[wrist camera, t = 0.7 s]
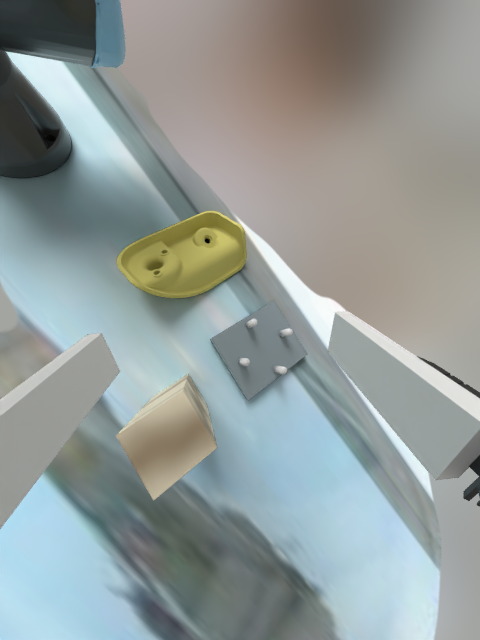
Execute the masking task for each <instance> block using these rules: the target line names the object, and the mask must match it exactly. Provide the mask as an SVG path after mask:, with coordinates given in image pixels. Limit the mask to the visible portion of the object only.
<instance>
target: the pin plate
mask: <svg viewBox="0 0 480 640" xmlns="http://www.w3.org/2000/svg"><path fill="white" fill-rule="evenodd" d="M210 340H211V341H212V343H213V345H214V346H215V348H216V350H217V351H218V353H219V355H220V356H221V358H222V360H223V361H224V363H225V365H226V366H227V368H228V369H229V371H230V373H231V374H232V376H233V378H234V379H235V381H236V383H237V384H238V386H239V388H240V389H241V391H242V393H243V394H244V396H245V397H246V399H247V400H249V399H251V398H252V397H253V396H255V395H256V394H257V393H258V392H260V391H261V390H262V389H264V388H265V387H266V386H267V385H269V384H270V383H271V382H273V381H274V380H275V379H276V378H278V377H279V376H280V375H281V374H286V373H287V370H288V369H289V368H290V367H292V366H293V365H294V364H296V363H297V362H298V361H299V360H301V359H302V358H303V357H305V356H306V355H307V352H306V351H305V349H304V347H303V346H302V344H301V343H300V341H299V339H298V338H297V336H296V335H295V333H294V331H293V330H292V328H291V327H290V325H289V323H288V322H287V320H286V319H285V317H284V315H283V314H282V312H281V310H280V309H279V307H278V306H277V304H276V302H275V301H272V302H271V303H269V304H268V305H266V306H264V307H263V308H261V309H259V310H258V311H256V312H254V313H253V314H251V315H249V316H248V317H246V318H244V319H243V320H241V321H239V322H238V323H236V324H234V325H233V326H231V327H230V328H228V329H226V330H225V331H223V332H221V333H220V334H218V335H216V336H215V337H213V338H211V339H210Z"/></svg>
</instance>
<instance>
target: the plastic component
mask: <svg viewBox="0 0 480 640" xmlns="http://www.w3.org/2000/svg"><path fill="white" fill-rule="evenodd" d="M205 238H207V239H209V241H210V243H209V244H207V243H206V242H205ZM246 257H247V252H246V239H245V231H244V229H243V227H242V226H241V225H240V224H238V223H236V222H235V221H233V220H231V219H230V218H228V217H226V216H225V215H223V214H221V213H219V212H216V211H205V212H202V213H200V214H197V215H195V216H193V217H190V218H188V219H186V220H183V221H181V222H179V223H176V224H174V225H172V226H169V227H167V228H165V229H162V230H160V231H158V232H155V233H153V234H151V235H148V236H146V237H144V238H142V239H139V240H137V241H135V242H134V243H132V244H130V245H128V246H127V247H126V248H124V249H123V250H122V251H121V252H120V254H119V255H118V258H117V266H118V268H119V270H120V271H121V272H122V273H123V274H124V275H125V277H126V278H127V279H128V280H129V281H130V282H131V283H132V284H133V285H134V286H136V287H137V288H139V289H140V290H142V291H145V292H147V293H149V294H152V295H155V296H160V297H166V298H185V297H192V296H195V295H198V294H201V293H203V292H206V291H208V290H210V289H211V288H213V287H215V286H216V285H218V284H219V283H221V282H222V281H224V280H226V279H227V278H229V277H230V276H232V275H233V274H235V273H237V272H238V271H240V270H241V269H242V267H243V266H244V264H245V261H246Z"/></svg>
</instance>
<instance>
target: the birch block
mask: <svg viewBox="0 0 480 640" xmlns="http://www.w3.org/2000/svg"><path fill="white" fill-rule="evenodd" d="M116 437H117V438H118V440H119V442H120V444H121V445H122V447H123V449H124V450H125V452H126V454H127V456H128V457H129V459H130V461H131V463H132V464H133V466H134V468H135V469H136V471H137V473H138V475H139V476H140V478H141V480H142V481H143V483H144V485H145V487H146V488H147V490H148V492H149V493H150V495H151V497H152V499H153V500H155V499H156V498H157V497H158V496H160V495H161V494H162V493H163V492H164V491H166V490H167V489H168V488H169V487H170V486H172V485H173V484H174V483H175V482H177V481H178V480H179V479H180V478H181V477H183V476H184V475H185V474H186V473H187V472H189V471H190V470H191V469H192V468H193V467H195V466H196V465H197V464H198V463H200V462H201V461H202V460H203V459H204V458H206V457H207V456H208V455H209V454H210V453H212V452H213V451H214V450H215V449H216V448H217V444H216V440H215V436H214V432H213V428H212V424H211V420H210V415H209V411H208V407H207V404H206V403H205V401H204V399H203V398H202V396H201V394H200V393H199V391H198V389H197V388H196V386H195V384H194V383H193V381H192V379H191V378H190V376H189V374H187V375H186V376H184V377H183V378H181V379H179V380H178V381H176V382H175V383H173V384H172V385H170V386H169V387H167V388H165V389H164V390H162V391H161V392H159V393H158V394H156V395H155V396H153V397H152V398H151V399H150V400H149V401H148V403H147V404H146V405H145V406H144V407H143V408H142V409H141V410H140V411H139V412H138V413H137V414H136V415H135V416H134V417H133V418H132V419H131V420H130V421H129V422H128V424H127V425H126V426H125V427H124V428H123V429H122V430H121V431H120V432H119V433H118V434H117V435H116Z"/></svg>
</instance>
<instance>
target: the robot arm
mask: <svg viewBox="0 0 480 640" xmlns="http://www.w3.org/2000/svg"><path fill="white" fill-rule="evenodd" d="M6 51H7V52H13V53H19V54H25V55H30V56H36V57H42V58H47V59H53V60H59V61H64V62H70V63H76V64H81V65H87V66H90V67H91V68H97V67H98V66H104V67H115V68H116V67H119V66H120V65H121V64H123V62H124V60H125V35H124V27H123V18H122V11H121V3H120V0H0V175H3V176H8V177H19V178H24V177H35V176H40V175H44V174H47V173H49V172H52V171H54V170H55V169H57V168H58V167H60V166H61V165H62V164H63V163H64V162H65V161H66V160H67V158H68V156H69V154H70V151H71V138H70V135H69V133H68V131H67V129H66V127H65V126H64V124H63V122H62V121H61V119H60V117H59V116H58V114H57V113H56V111H55V110H54V109H53V107H52V106H51V105H50V104H49V103H48V102H47V101H46V100H45V98H44V97H43V96H42V95H41V94H40V93H39V92H38V91H37V89H36V88H35V87H34V86H33V85H32V84H31V83H30V81H29V80H28V79H27V78H26V77H25V76H24V75H23V74H22V72H21V71H20V70H19V69H18V68H17V67H16V66H15V65H14V63H13V62H12V61H11V59H10V58H9V56H8V55H7V53H6ZM328 353H329V354H330V355H331V356H332V357H333V358H334V360H335V361H336V362H337V363H338V364H339V366H340V367H341V368H342V369H343V370H344V372H345V373H346V374H347V375H348V376H349V378H350V379H351V380H352V381H353V382H354V384H355V385H356V386H357V387H358V388H359V390H360V391H361V392H362V393H363V394H364V396H365V397H366V398H367V399H368V400H369V402H370V403H371V404H372V405H373V406H374V408H375V409H376V410H377V411H378V412H379V413H380V415H381V416H382V417H383V418H384V419H385V421H386V422H387V423H388V424H389V425H390V427H391V428H392V429H393V430H394V431H395V433H396V434H397V435H398V436H399V437H400V439H401V440H402V441H403V442H404V443H405V445H406V446H407V447H408V448H409V449H410V451H411V452H412V453H413V454H414V455H415V457H416V458H417V459H418V460H419V461H420V463H421V464H422V465H423V466H424V467H425V468H426V470H427V471H428V472H429V473H430V474H431V476H432V477H433V478H434V479H435V480H442V479H450V478H459V477H460V476H461V475H462V474H463V473H464V472H465V471H466V470H467V469H468V468H469V467H470V468H471V469H472V470H473V471H474V472H475V473H476V474H477V475H479V477H478V478H477V479H476V480H475V481H474V482H473V483H472V484H471V485H470V486H469V487H468V488H467V489H466V490H465V491H464V499H466V500H468V501H470V499H472V498H473V497H474V496H475V495H476V494H478V493H479V496H480V392H478V391H476V390H475V389H473V388H472V387H470V386H469V385H465V384H464V383H463V382H462V381H461V380H459V379H458V378H456V377H455V376H451V375H450V373H448V372H447V371H445V370H444V369H442V368H440V367H439V366H437V365H436V364H434V363H432V362H429V361H427V360H425V359H423V358H420V357H418V356H415V355H413V354H412V353H410V352H409V351H407V350H406V349H404V348H402V347H401V346H400V345H398V344H397V343H395V342H394V341H392V340H391V339H389V338H388V337H386V336H385V335H383V334H381V333H380V332H379V331H377V330H376V329H374V328H373V327H371V326H370V325H368V324H366V323H365V322H364V321H362V320H361V319H359V318H357V317H356V316H354V315H353V314H351V313H350V312H348V311H347V312H336V313H335V316H334V321H333V327H332V332H331V337H330V342H329V348H328ZM119 372H120V370H119V368H118V366H117V364H116V362H115V360H114V358H113V355H112V353H111V351H110V349H109V347H108V345H107V343H106V341H105V339H104V337H103V335H102V333H98V334H87V335H86V336H85V337H83V338H82V339H81V340H79V341H78V342H77V343H75V344H74V345H73V346H71V347H70V348H69V349H67V350H66V351H65V352H63V353H62V354H61V355H59V356H58V357H57V358H55V359H54V360H52V361H51V362H50V363H48V364H47V365H46V366H44V367H43V368H42V369H40V370H39V371H38V372H36V373H35V374H34V375H32V376H31V377H30V378H28V379H27V380H26V381H24V382H23V383H22V384H20V385H19V386H18V387H16V388H15V389H14V390H12V391H11V392H9V393H8V394H7V395H5V396H4V397H3V398H1V399H0V529H1V527H2V526H3V525H4V523H5V522H6V521H7V520H8V518H9V517H10V516H11V514H12V513H13V512H14V510H15V509H16V508H17V506H18V505H19V504H20V502H21V501H22V500H23V498H24V497H25V496H26V495H27V493H28V492H29V491H30V489H31V488H32V487H33V485H34V484H35V483H36V481H37V480H38V479H39V477H40V476H41V475H42V473H43V472H44V471H45V470H46V468H47V467H48V466H49V464H50V463H51V462H52V460H53V459H54V458H55V456H56V455H57V454H58V452H59V451H60V450H61V448H62V447H63V446H64V444H65V443H66V442H67V441H68V439H69V438H70V437H71V435H72V434H73V433H74V431H75V430H76V429H77V427H78V426H79V425H80V423H81V422H82V421H83V419H84V418H85V417H86V416H87V414H88V413H89V412H90V410H91V409H92V408H93V406H94V405H95V404H96V402H97V401H98V400H99V398H100V397H101V396H102V394H103V393H104V392H105V391H106V389H107V388H108V387H109V385H110V384H111V383H112V381H113V380H114V379H115V377H116V376H117V375H118V373H119ZM477 505H478V506H480V500H479V501H478V503H477Z"/></svg>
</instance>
